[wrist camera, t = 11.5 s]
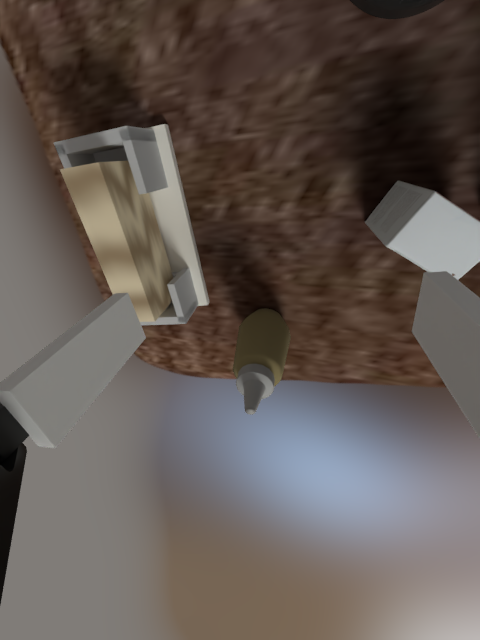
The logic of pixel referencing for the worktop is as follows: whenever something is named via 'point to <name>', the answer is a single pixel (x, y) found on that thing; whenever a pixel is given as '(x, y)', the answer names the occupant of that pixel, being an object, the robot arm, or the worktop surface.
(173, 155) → the bracket board
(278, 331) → the squeeze bottle
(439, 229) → the small box
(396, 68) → the worktop surface
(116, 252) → the rail
